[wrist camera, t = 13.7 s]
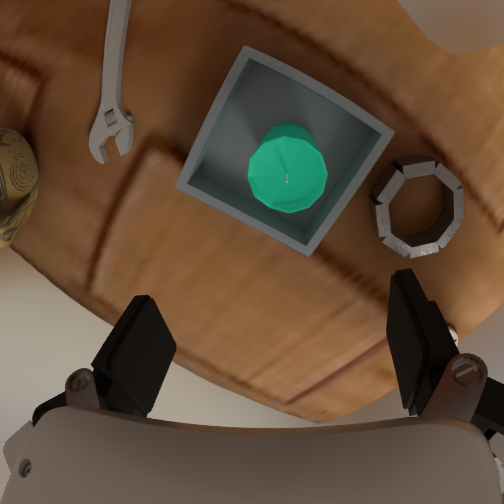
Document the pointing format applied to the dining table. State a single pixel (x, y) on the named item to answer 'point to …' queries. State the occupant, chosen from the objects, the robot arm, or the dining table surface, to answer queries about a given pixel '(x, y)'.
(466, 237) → the dining table surface
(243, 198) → the bin
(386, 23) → the dining table surface
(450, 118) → the dining table surface
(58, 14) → the dining table surface
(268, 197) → the candle
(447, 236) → the collar
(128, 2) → the adjustable wrench
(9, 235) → the ceramic bowl
